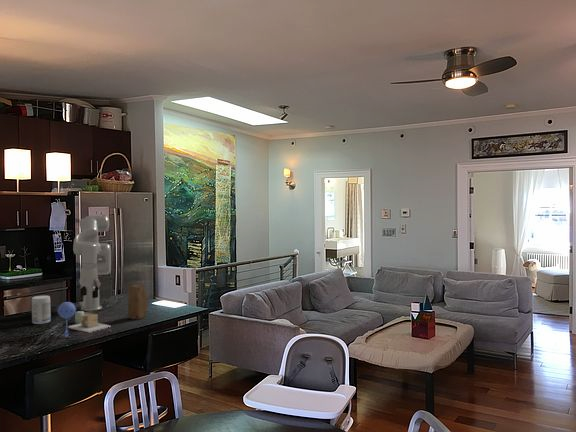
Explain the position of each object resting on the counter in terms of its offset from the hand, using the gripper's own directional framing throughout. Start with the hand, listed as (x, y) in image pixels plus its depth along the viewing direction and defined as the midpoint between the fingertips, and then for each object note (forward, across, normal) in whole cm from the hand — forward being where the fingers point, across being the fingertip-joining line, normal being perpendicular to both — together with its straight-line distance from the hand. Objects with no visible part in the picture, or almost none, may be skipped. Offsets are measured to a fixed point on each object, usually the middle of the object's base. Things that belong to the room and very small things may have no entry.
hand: (89, 296), depth 269 cm
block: (+18, +6, +30) cm, 35 cm away
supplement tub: (+18, -32, -8) cm, 37 cm away
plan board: (+17, 0, 0) cm, 17 cm away
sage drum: (+17, -14, +4) cm, 22 cm away
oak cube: (+16, 0, 0) cm, 16 cm away
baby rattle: (+17, +6, -18) cm, 26 cm away
